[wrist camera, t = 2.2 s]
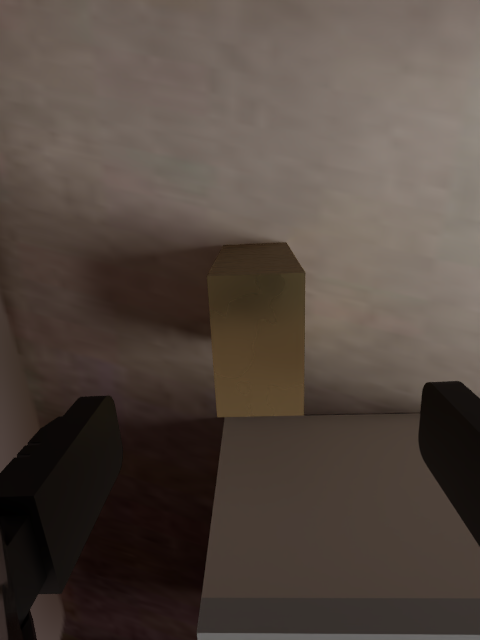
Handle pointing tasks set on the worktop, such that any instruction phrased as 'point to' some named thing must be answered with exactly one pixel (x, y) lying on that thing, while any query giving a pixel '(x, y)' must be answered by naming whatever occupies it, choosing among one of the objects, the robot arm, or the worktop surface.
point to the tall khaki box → (257, 330)
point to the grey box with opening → (335, 535)
